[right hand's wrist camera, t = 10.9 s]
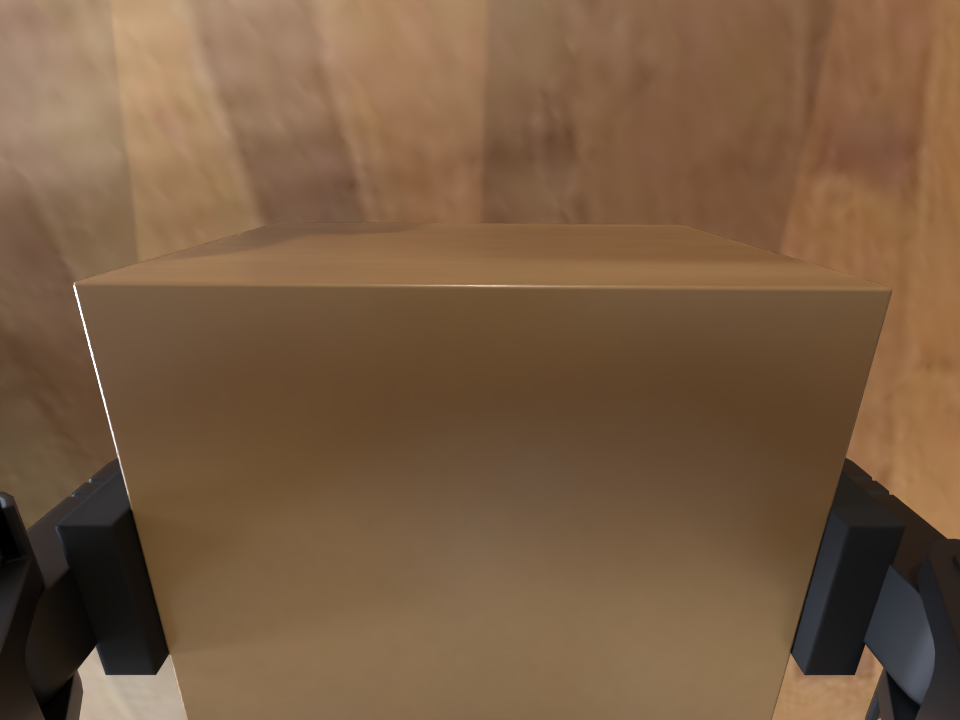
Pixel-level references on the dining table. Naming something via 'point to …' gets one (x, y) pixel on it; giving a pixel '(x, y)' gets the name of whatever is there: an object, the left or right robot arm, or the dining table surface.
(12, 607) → the right robot arm
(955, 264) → the dining table surface
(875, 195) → the dining table surface
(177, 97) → the dining table surface
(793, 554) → the thick board
